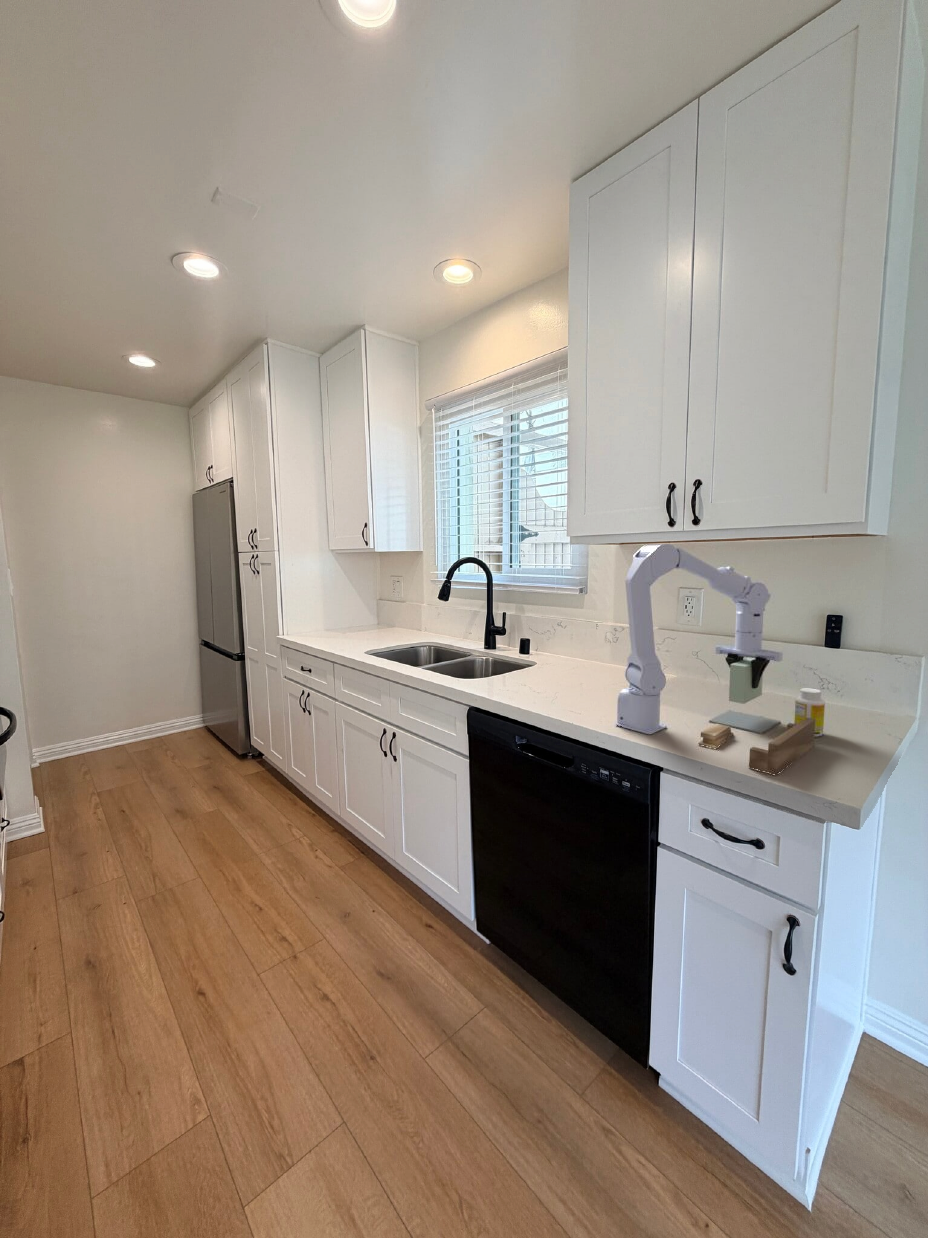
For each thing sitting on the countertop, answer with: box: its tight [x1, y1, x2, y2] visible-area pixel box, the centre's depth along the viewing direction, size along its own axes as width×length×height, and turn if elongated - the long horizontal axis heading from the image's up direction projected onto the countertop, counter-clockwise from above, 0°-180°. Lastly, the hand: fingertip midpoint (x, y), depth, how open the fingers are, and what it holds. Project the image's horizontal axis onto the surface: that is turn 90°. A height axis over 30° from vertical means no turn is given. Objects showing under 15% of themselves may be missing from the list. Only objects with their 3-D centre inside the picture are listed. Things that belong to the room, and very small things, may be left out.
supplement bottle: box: [793, 687, 826, 738], centre depth 117 cm, size 6×6×10 cm
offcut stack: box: [697, 723, 734, 749], centre depth 114 cm, size 4×12×3 cm, turn 136°
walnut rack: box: [748, 718, 815, 776], centre depth 104 cm, size 5×22×6 cm, turn 130°
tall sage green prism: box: [728, 657, 764, 705], centre depth 125 cm, size 3×11×9 cm, turn 130°
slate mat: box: [708, 710, 781, 735], centre depth 126 cm, size 12×12×1 cm
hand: (746, 686), depth 125 cm, fingers closed on tall sage green prism, 3 cm apart
